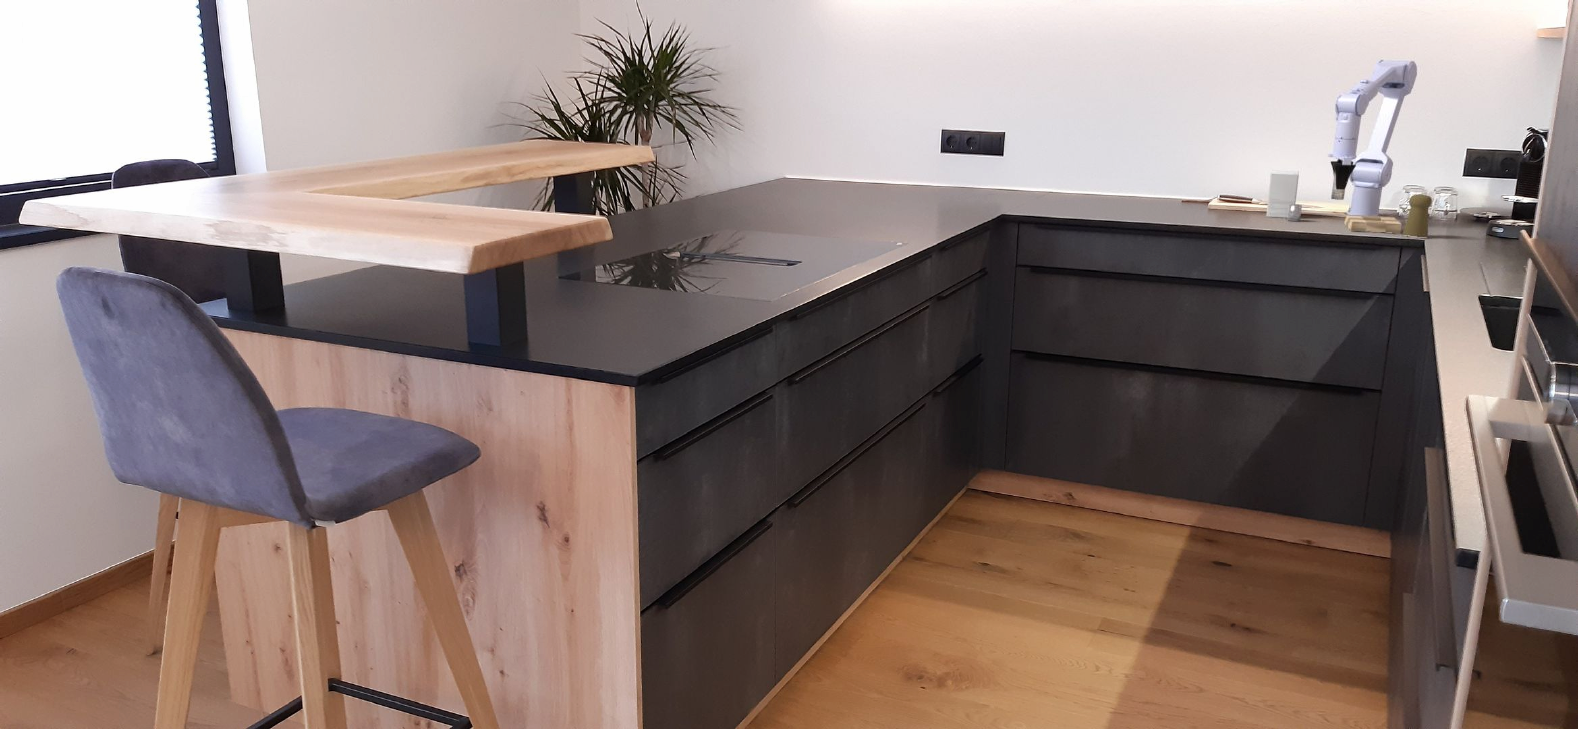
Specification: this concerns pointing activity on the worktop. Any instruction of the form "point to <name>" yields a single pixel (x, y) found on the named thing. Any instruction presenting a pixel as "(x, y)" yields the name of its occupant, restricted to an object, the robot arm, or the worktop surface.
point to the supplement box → (1282, 193)
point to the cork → (1418, 216)
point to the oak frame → (1372, 223)
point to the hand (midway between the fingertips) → (1339, 188)
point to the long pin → (1337, 191)
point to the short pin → (1294, 213)
